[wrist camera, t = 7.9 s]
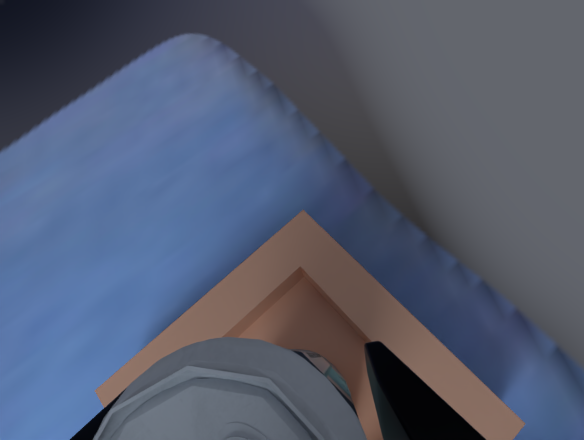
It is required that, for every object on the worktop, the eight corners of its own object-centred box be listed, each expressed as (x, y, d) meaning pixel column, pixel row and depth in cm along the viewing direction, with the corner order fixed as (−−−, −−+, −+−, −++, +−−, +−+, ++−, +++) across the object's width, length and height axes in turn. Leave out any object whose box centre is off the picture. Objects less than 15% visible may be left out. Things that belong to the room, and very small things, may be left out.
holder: (495, 414, 15) (525, 423, 13) (288, 658, 13) (277, 724, 10) (307, 229, 19) (303, 209, 17) (127, 387, 17) (94, 390, 15)
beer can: (223, 407, 16) (-47, 528, 5) (295, 326, 17) (212, 267, 6) (300, 500, 14) (170, 1020, 3) (376, 406, 15) (484, 544, 4)
